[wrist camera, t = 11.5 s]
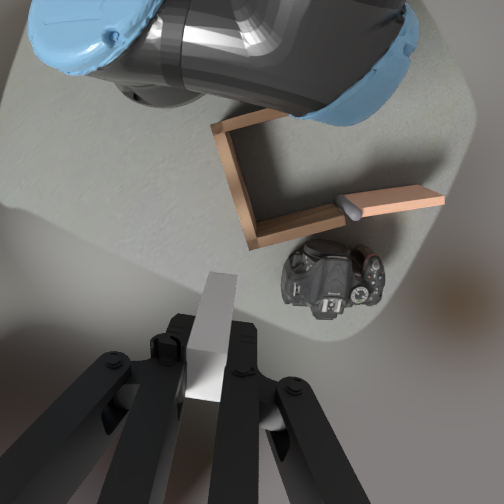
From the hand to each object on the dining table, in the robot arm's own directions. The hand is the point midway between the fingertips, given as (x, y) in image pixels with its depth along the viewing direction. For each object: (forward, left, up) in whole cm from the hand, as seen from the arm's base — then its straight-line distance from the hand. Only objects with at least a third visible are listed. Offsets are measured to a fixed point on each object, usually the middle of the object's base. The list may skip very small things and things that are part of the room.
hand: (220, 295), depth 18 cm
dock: (-2, +6, -24) cm, 25 cm away
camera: (+12, +8, -25) cm, 29 cm away
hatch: (+4, +17, -24) cm, 30 cm away
